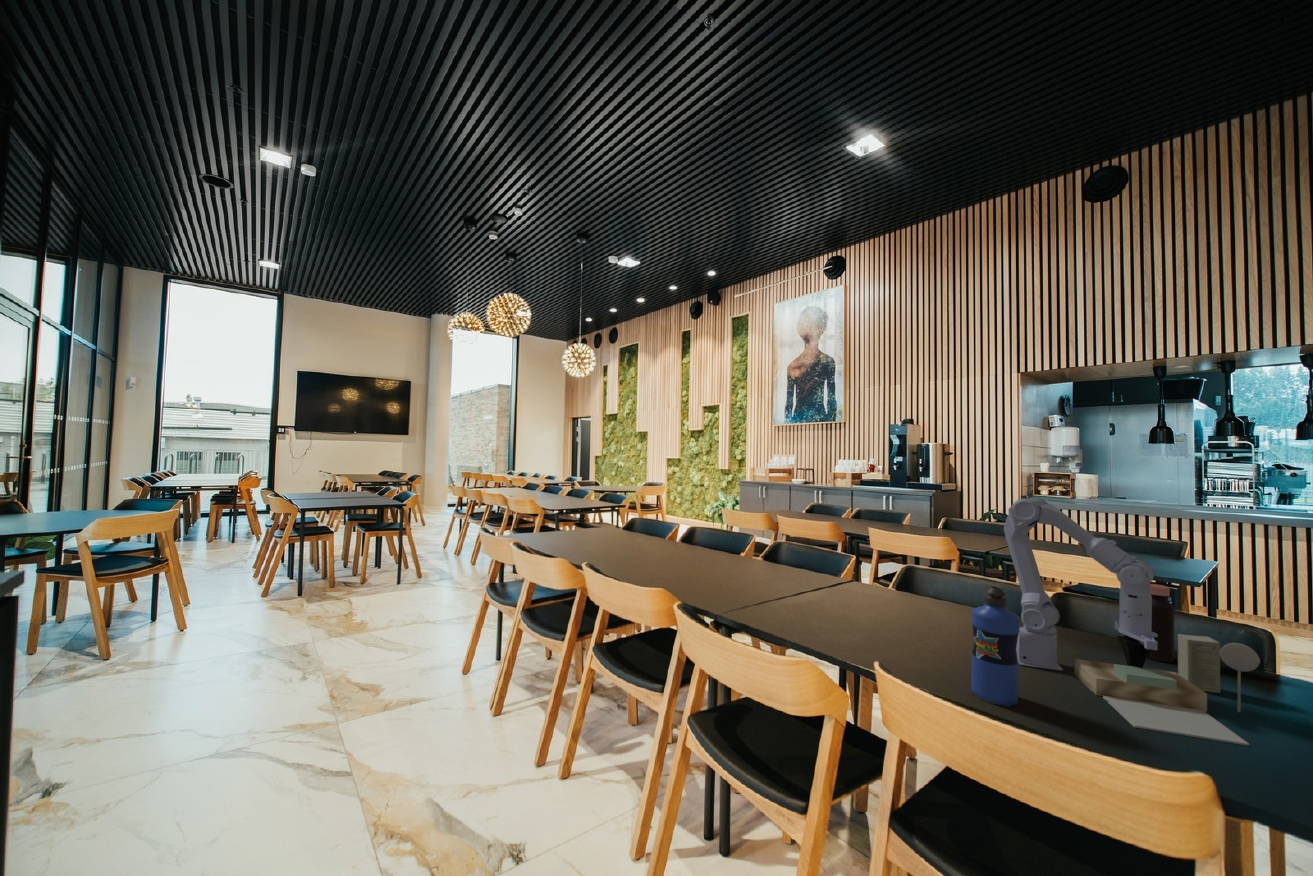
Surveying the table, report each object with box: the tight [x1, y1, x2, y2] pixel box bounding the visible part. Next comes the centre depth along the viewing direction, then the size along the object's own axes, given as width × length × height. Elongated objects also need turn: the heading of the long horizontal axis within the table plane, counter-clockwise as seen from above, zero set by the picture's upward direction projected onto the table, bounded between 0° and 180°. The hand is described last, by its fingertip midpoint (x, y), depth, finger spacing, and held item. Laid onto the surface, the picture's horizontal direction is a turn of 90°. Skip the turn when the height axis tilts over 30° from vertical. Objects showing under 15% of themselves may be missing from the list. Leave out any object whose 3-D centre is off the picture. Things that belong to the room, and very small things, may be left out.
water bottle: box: [970, 586, 1021, 706], centre depth 120 cm, size 9×9×25 cm
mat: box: [1101, 695, 1250, 747], centre depth 112 cm, size 18×14×1 cm
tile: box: [1113, 663, 1177, 690], centre depth 121 cm, size 9×6×2 cm, turn 71°
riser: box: [1074, 658, 1208, 713], centre depth 124 cm, size 20×12×4 cm, turn 71°
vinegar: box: [1146, 583, 1175, 663], centre depth 146 cm, size 7×7×20 cm
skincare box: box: [1177, 633, 1221, 694], centre depth 128 cm, size 6×4×12 cm
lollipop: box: [1219, 642, 1261, 713], centre depth 116 cm, size 6×6×15 cm
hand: (1134, 669), depth 125 cm, fingers closed
